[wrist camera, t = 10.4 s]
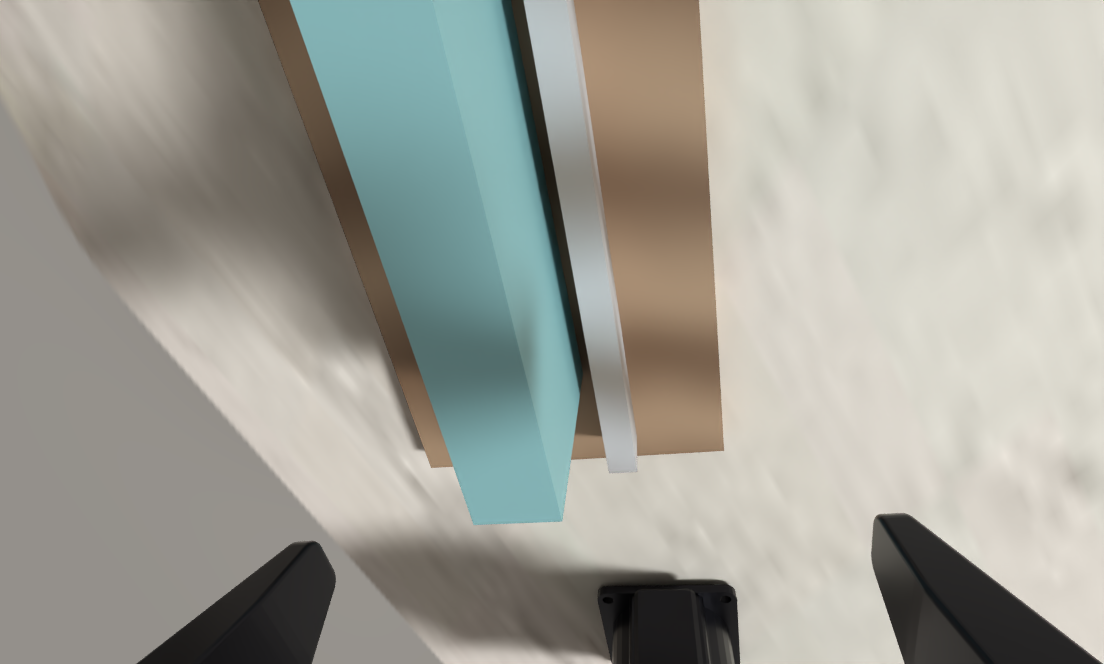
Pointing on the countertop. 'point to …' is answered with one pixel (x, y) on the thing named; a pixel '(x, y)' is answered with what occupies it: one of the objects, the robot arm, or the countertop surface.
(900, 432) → the countertop surface
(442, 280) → the door panel
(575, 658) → the countertop surface
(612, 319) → the track
